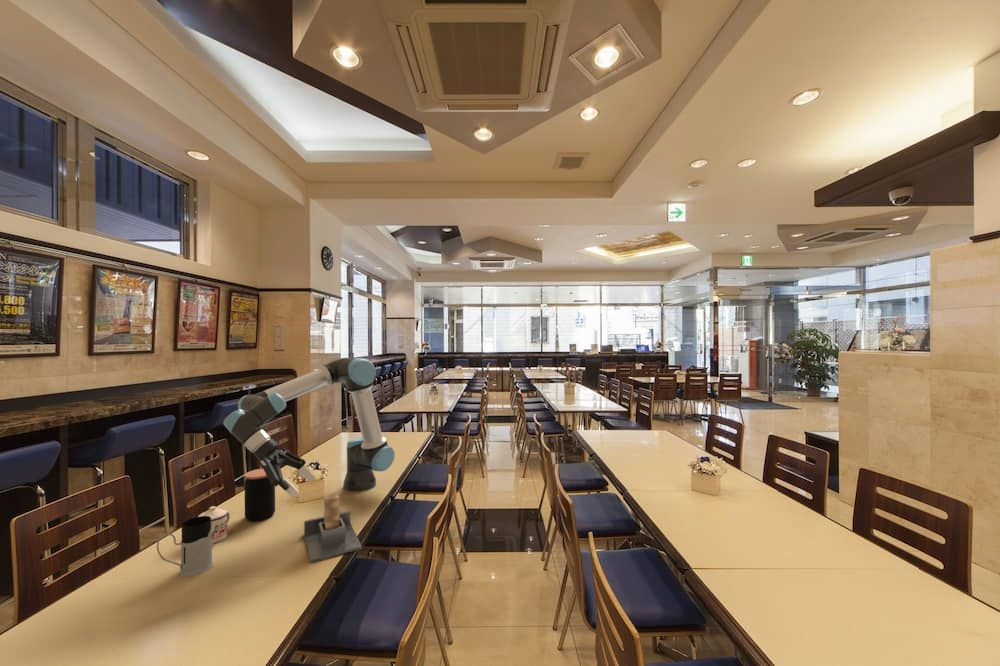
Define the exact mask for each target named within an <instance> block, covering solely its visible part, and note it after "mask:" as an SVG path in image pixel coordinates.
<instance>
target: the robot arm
mask: <svg viewBox="0 0 1000 666" xmlns="http://www.w3.org/2000/svg"><path fill="white" fill-rule="evenodd" d="M376 371H377V370H376V367H375V365H374V364H373V362H372V361H370V360H369V359H366V358H362V357H342V358H338V359H336V360H332V361H330V362H328V363H326V364H323V365H320V366H319V367H318V368H317V369H316V370H314V371H311V372H308V373H306V374H304V375H300V376H298V377H296V378H293V379H290V380H289V381H285V382H283V383H281V384H278V385H275V386H272V387H271V388H268V389H266V390H265V389H264V390H262V391H261V392H257V393H254V394H247V395H244V396H242V397H240V399H239V400H238V402H237V408H238V409H236V410H234V411H232V412H231V413H230V414H229V415H228V416H226V417H225V418H224V420H223V423H222V424H223V426H224V427H225V428H226V429H227V431H229V433H230V434H231V435H232V436H234V437H235V438H236V439H237V441H239V442H240V443H241V444H242V445H243V446H245V448H246V450H249V452H250V453H253V455H254V457H256V458H257V459H258V460H259V461H260V462H259V466H261V469H264V471H265V473H266V475H267V477H268V479H269V481H270V483H271V485H273V486H275V487H277V486H279V487H281V488H282V490H283V491H285V492H286V493H287V494H288V495H289V496H290V498H292V499H293V498H294V497H295V496H297V494H298V493H299V492H300V491H299V490H298V489H297V488H296V487H295V486H294V485H293V484H292V483H291V482H290V481H289V480H288V479H287V478H286V477H285V478H284V477H283V473H282V469H281V465H283V466H284V465H285V466H289V467H291V468H294V469H296V470H298V473H299V474H301V475H302V477H304V478H305V480H307V481H308V482H309V483H310V484H311V483H313V482H314V481H315V480H316V479H317V476H316V475H315V474H314V473H312V471H311V470H310V469H309V468H308V467H307V466H306V465H305V464H307V462H306V460H305V459H303V458H301V457H299V456H298V455H296V454H294V453H292V452H291V451H289V450H288V449H287V448H286V447H282V449H281V450H280V449H279V447H280V445H279V443H278V442H277V441H276V440H275V439H273V438H271V435H269V434H268V433H267V432H266V431H265V430H264V429H263V427H262V426H263V425H265V424H266V423H267V422H269V421H270V420H272V419H273V418H274V417H276V416H277V415H278V414H280V413H281V412H282V411H283V410H285V409H286V407H287V402H288V401H291V400H293V399H295V398H298V397H300V396H302V395H305V394H307V393H309V392H311V391H312V392H313V391H314V390H317V389H319V388H321V387H323V386H327V387H330V386H331V385H335V384H345V388H346V391H347V392H348V393H349V394H351V396H352V401H353V405H354V408H355V413H356V417H357V422H358V426H359V429H360V432H361V437H357V438H353V439H350V440H348V441H347V443H346V473H345V478H344V480H343V483H342V484H343V486H342V487H343V488H342V489H344V490H345V491H347V492H362V491H367V490H370V489H372V488H374V487H376V485H377V479H376V476H375V472H385V471H386V470H388V469H389V468H390V467H391V466H392V464H393V462H394V461H395V452H396V451H395V450H394V448H393V447H392V446H389V444H388V440H387V438H386V437H385V436H384V435H383V434H382V430H381V425H380V421H379V416H378V413H377V408H376V404H375V400H374V395H373V392H372V388H373V386H374V381H375V378H376V373H377V372H376Z"/></svg>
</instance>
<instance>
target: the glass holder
mask: <svg viewBox="0 0 1000 666" xmlns="http://www.w3.org/2000/svg"><path fill="white" fill-rule="evenodd" d="M167 536H171V537H172V538H173V543H174V545H175V546H179V545H180V562H181V563H178V562H175V561H171V560H170V559H167V558H165V557H164V556H163V555H162V554H161V552H160V549H159V546H160V545H159V544H160V541H161V540H162V539H163V538H164V537H167ZM212 547H213V544H212V525H211V517H209V516H200V517H198V516H195V517H192V518H189V519H187V520H185V521H183V522H182V523H181V540H180V542H179V543H177V540H176V537H175V535H174V534H172V533H165V534H164V535H162V536H161V537H159V538H158V539H157V542H156V550H157V551H156V552H157V553H158V556H159V557H160V558H161V560H163V561H165V562H166V563H171V564H174V565H177V566H179V569H180V571H179V576H181V577H184V578H185V577H186V578H187V577H193V576H197V575H201V574H203V573H206V572H207V571H209V570H210V569H212V568H213V566H214V565H215V564H214V560H213V548H212Z"/></svg>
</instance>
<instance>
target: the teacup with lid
mask: <svg viewBox="0 0 1000 666" xmlns="http://www.w3.org/2000/svg"><path fill="white" fill-rule="evenodd" d="M200 516H209V517H211V525H212V545H213V544H216V543H219V542H222V541H223V540H224V539H225V538H227V536H228V523H229V521H230V512H229V511H227V509H225V508H217V506H215V505H214V506H210V507H209V508H208V510H206V511H204V512H202V513H200V514H199V515H198V516H197V517H200Z"/></svg>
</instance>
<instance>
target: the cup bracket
mask: <svg viewBox="0 0 1000 666" xmlns="http://www.w3.org/2000/svg"><path fill="white" fill-rule="evenodd" d="M303 524H304V525H303V531H304V532H303V534H304V539H305V543H306V547H307V552H308V557H309V562H310V563H311V564H312V563H315V562H319V561H323V560H327V559H332V558H334V557H337V556H341V555H345V554H349V553H352V552H356V551H359V550H363V545H362V544H361V541H360V539H359V538H358V535H357V534H356V532H355V530H354V527H353V525H352V523H351V511H350V510H347V511H343V512H339V527H336V528H332V529H328V530H325V523H324V516H320V517H317V518H311V519H307V520H304V521H303Z"/></svg>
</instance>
